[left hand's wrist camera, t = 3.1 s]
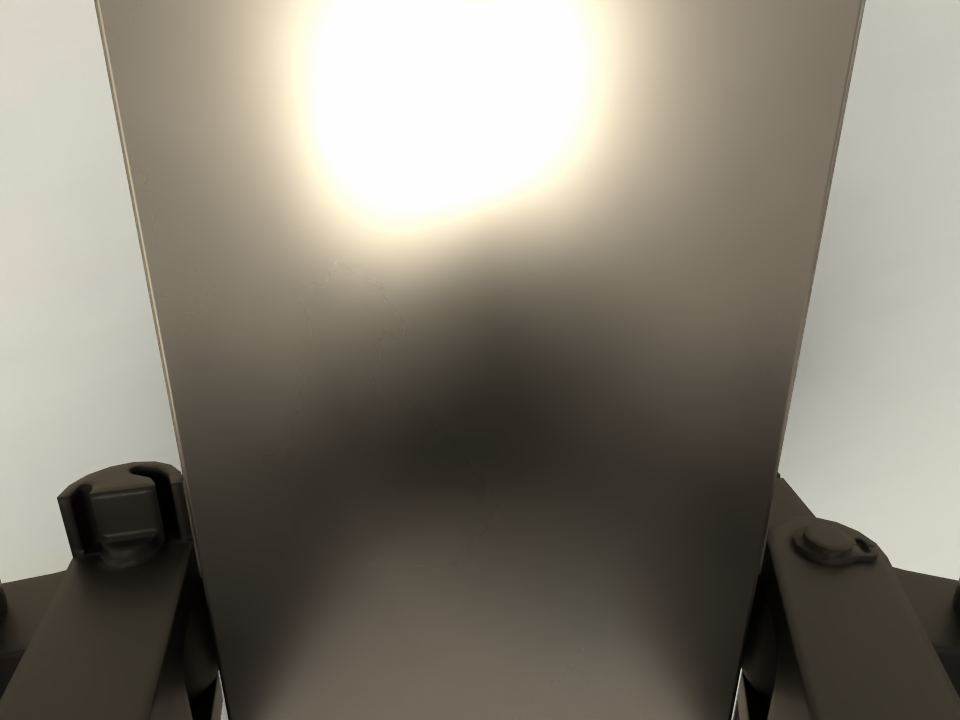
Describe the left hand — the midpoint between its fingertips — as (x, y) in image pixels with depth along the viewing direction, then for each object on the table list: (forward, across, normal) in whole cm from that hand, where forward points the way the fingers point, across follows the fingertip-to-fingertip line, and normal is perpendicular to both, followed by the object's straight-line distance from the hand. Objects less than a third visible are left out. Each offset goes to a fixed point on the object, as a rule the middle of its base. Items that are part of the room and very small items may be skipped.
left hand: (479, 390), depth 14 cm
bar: (+1, 0, -8) cm, 8 cm away
